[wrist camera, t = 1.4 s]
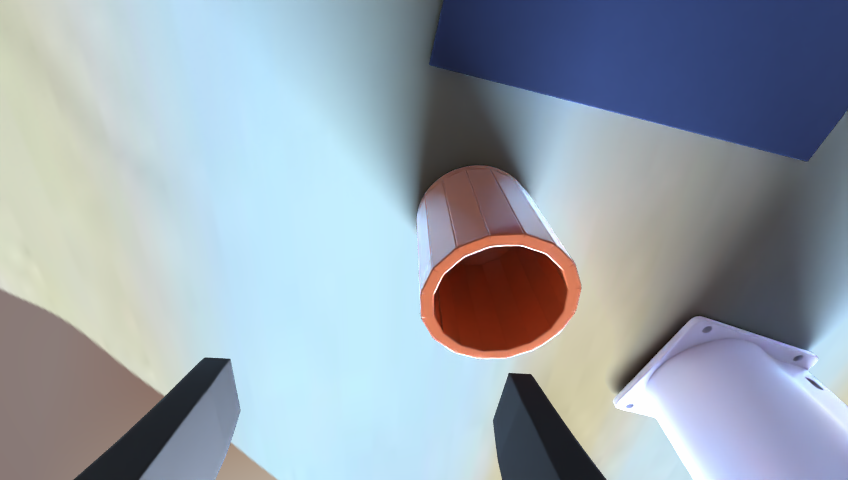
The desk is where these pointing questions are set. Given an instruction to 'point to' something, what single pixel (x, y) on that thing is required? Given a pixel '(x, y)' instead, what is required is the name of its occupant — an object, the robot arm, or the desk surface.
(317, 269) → the desk surface
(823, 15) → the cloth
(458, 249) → the cup
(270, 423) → the desk surface
